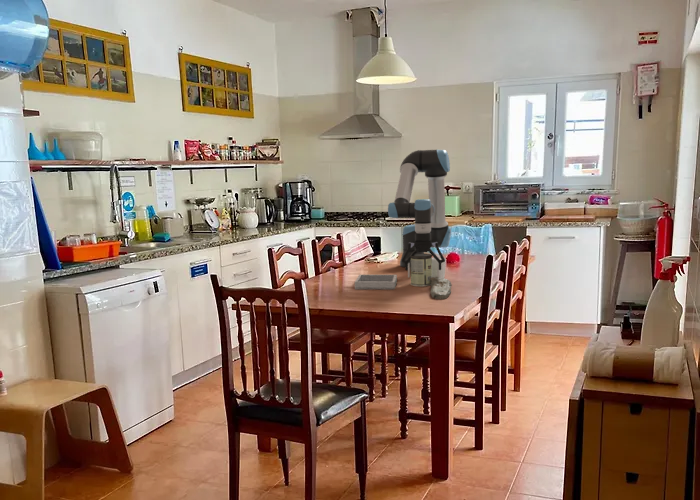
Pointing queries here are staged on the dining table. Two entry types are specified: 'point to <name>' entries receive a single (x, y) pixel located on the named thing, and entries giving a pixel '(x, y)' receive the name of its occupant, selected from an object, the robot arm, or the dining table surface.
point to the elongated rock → (440, 288)
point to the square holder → (376, 282)
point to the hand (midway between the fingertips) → (423, 277)
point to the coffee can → (421, 269)
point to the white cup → (434, 268)
